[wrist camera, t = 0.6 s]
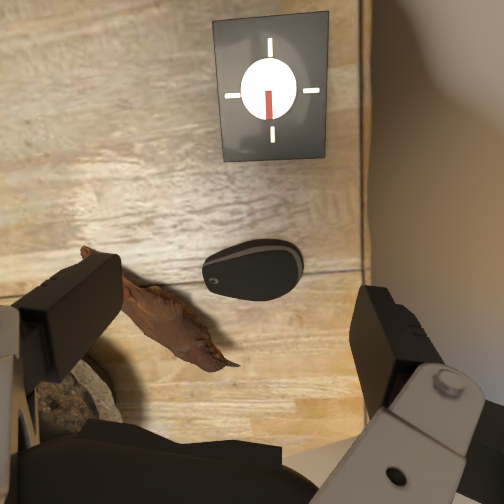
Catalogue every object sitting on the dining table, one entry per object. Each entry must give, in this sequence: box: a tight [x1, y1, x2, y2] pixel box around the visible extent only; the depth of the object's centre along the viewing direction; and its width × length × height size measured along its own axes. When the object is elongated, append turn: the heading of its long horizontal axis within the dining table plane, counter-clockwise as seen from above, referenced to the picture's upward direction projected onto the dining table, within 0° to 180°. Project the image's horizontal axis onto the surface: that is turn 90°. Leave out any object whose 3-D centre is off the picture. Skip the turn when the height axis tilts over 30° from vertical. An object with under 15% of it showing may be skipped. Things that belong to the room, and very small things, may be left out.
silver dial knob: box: [241, 58, 297, 120], centre depth 29 cm, size 4×4×5 cm
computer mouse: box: [202, 240, 304, 301], centre depth 39 cm, size 7×12×4 cm, turn 103°
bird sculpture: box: [80, 246, 240, 372], centre depth 43 cm, size 7×25×5 cm, turn 57°
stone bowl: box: [36, 353, 123, 443], centre depth 48 cm, size 25×25×9 cm
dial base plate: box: [212, 11, 329, 162], centre depth 32 cm, size 12×10×3 cm
